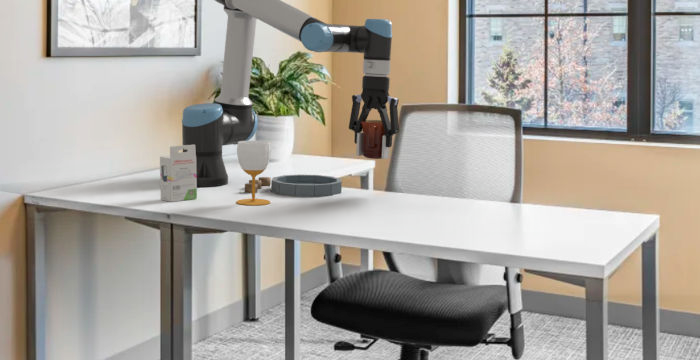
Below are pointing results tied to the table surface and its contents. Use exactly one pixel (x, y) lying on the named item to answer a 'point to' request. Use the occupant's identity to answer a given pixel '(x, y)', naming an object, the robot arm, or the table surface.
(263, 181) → the bead
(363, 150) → the mug
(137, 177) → the table surface
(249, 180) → the bead
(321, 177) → the tray
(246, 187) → the bead
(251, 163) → the cup
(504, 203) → the table surface
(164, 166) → the ink box
